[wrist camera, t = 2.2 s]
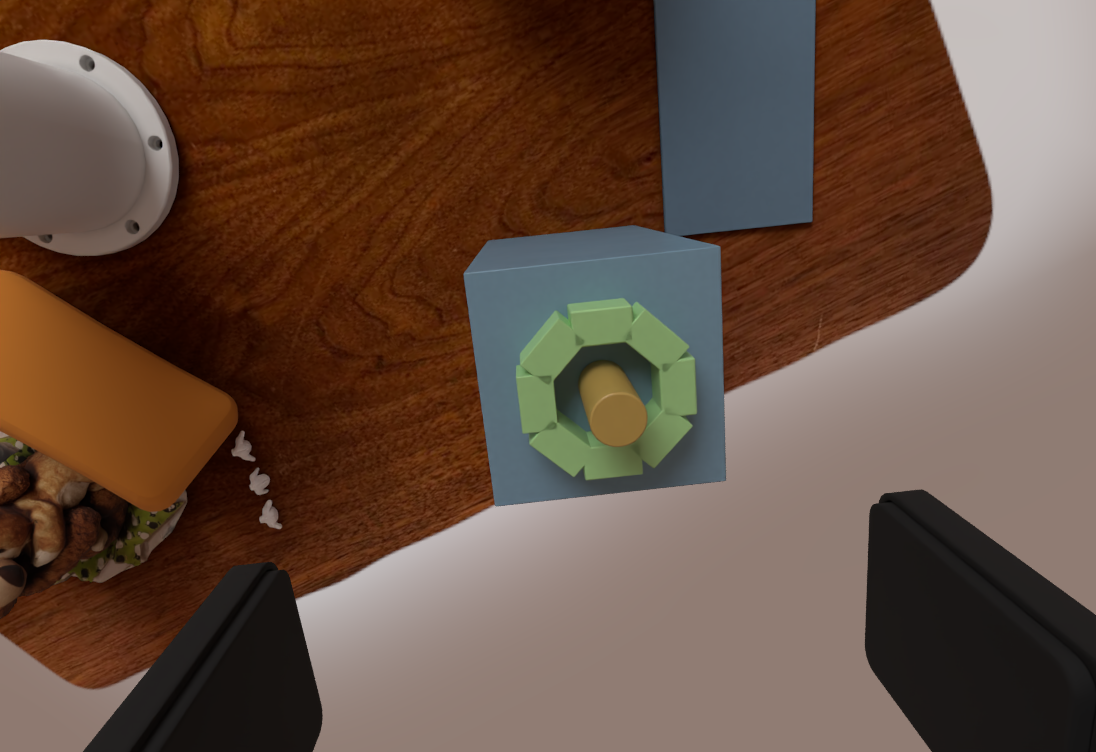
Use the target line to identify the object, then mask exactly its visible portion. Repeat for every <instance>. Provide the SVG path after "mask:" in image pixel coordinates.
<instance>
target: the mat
mask: <svg viewBox="0 0 1096 752" xmlns="http://www.w3.org/2000/svg"><path fill="white" fill-rule="evenodd" d="M815 1H816V0H654V21H655V41H656V62H657V83H658V104H659V124H660V145H661V166H662V187H663V207H664V228H665V233H668V234H672V235H676V236H684V235H694V234H703V233H713V232H722V231H732V230H741V229H751V228H760V227H769V226H779V225H788V224H798V223H807V222H812V204H813V137H814V69H815Z"/></svg>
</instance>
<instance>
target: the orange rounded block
mask: <svg viewBox="0 0 1096 752" xmlns="http://www.w3.org/2000/svg"><path fill="white" fill-rule="evenodd" d="M237 422H238V409H237V405H236V403H235V401H234V399H233V398H232V397H231V396H229V395H228V394H227V393H225V392H223V391H222V390H220V389H218V388H216V387H214V386H212V385H210V384H208V383H207V382H205V381H203V380H201V379H199V378H197V377H195V376H193V375H192V374H190V373H188V372H186V371H184V370H182V369H180V368H178V367H177V366H175V365H173V364H171V363H169V362H168V361H166V360H164V359H162V358H161V357H159V356H157V355H155V354H154V353H152V352H150V351H148V350H147V349H145V348H143V347H141V346H140V345H138V344H136V343H134V342H133V341H131V340H129V339H127V338H126V337H124V336H122V335H120V334H119V333H117V332H115V331H113V330H112V329H110V328H108V327H106V326H105V325H103V324H101V323H100V322H98V321H96V320H95V319H93V318H91V317H90V316H88V315H87V314H85V313H83V312H82V311H80V310H78V309H77V308H75V307H74V306H72V305H70V304H69V303H67V302H65V301H64V300H62V299H61V298H59V297H57V296H56V295H54V294H52V293H51V292H49V291H48V290H46V289H44V288H43V287H41V286H39V285H38V284H36V283H34V282H33V281H31V280H30V279H28V278H26V277H24V276H22V275H19V274H17V273H15V272H11V271H5V270H0V431H1V432H3V433H5V434H7V435H9V436H11V437H13V438H14V439H16V440H18V441H20V442H22V443H24V444H26V445H27V446H29V447H31V448H33V449H35V450H37V451H39V452H41V453H42V454H44V455H46V456H48V457H50V458H52V459H54V460H55V461H57V462H59V463H61V464H63V465H65V466H67V467H69V468H70V469H72V470H74V471H76V472H78V473H80V474H82V475H83V476H85V477H87V478H89V479H90V480H92V481H94V482H96V483H97V484H99V485H101V486H102V487H104V488H106V489H107V490H109V491H111V492H113V493H114V494H116V495H118V496H119V497H121V498H123V499H124V500H126V501H128V502H130V503H131V504H133V505H135V506H136V507H138V508H140V509H142V510H145V511H149V512H156V511H162V510H164V509H166V508H169V507H170V506H171V505H172V504H173V503H174V502H176V500H177V499H178V498H179V497H180V495H181V494H182V493H183V492H184V490H185V489H186V488H187V487H188V485H189V484H190V483H191V482H192V481H193V479H194V478H195V477H196V476H197V474H198V473H199V472H200V471H201V469H202V468H203V467H204V466H205V464H206V463H207V462H208V461H209V459H210V458H211V457H212V456H213V454H214V453H215V452H216V451H217V449H218V448H219V447H220V446H221V444H222V443H223V442H224V441H225V439H226V438H227V437H228V436H229V434H230V433H231V432H232V431H233V429H234V428H235V426H236V424H237Z"/></svg>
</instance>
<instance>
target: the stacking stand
mask: <svg viewBox="0 0 1096 752" xmlns="http://www.w3.org/2000/svg"><path fill="white" fill-rule="evenodd" d="M464 282H465V289H466V296H467V304H468V311H469V318H470V325H471V333H472V340H473V347H474V355H475V362H476V369H477V377H478V384H479V391H480V399H481V406H482V413H483V421H484V428H485V435H486V443H487V450H488V457H489V465H490V472H491V479H492V487H493V494H494V501H495V506H505V505H513V504H523V503H531V502H539V501H549V500H558V499H566V498H576V497H585V496H594V495H603V494H612V493H621V492H630V491H639V490H648V489H656V488H666V487H675V486H684V485H693V484H702V483H711V482H720V481H726V458H725V422H724V421H725V417H724V376H723V336H722V295H721V254H720V246H717V245H713V244H709V243H705V242H700V241H696V240H692V239H688V238H684V237H680V236H676V235H672V234H668V233H663V232H659V231H655V230H651V229H647V228H643V227H639V226H635V225H632V226H623V227H613V228H604V229H594V230H585V231H575V232H566V233H556V234H547V235H537V236H528V237H518V238H509V239H499V240H490V241H487V243H486V244H485V245H484V247H483V248H482V249H481V251H480V252H479V254H478V255H477V256H476V258H475V259H474V260H473V262H472V263H471V264H470V266H469V267H468V268H467V270H466V271H465V273H464ZM619 298H624V299H625V300H626V301H627V302H628V303H629V304H630V305H631V306H633V305H634V303H635V302H638V303H639V304H640V305H642V306H643V307H644V308H645V309H646V310H648V311H649V312H650V313H651V314H652V315H654V316H655V317H656V318H657V319H658V320H660V321H661V322H662V323H663V324H664V325H666V326H667V327H668V328H669V329H670V330H671V331H673V332H674V333H675V334H676V335H677V336H679V337H680V338H681V339H682V340H683V341H684V342H685V343H687V344H688V345H689V348H688V349H687V350H686V351H687V352H688V353H690V354H691V355H692V356H693V357H694V358H695V368H696V395H697V414H695V415H687V416H686V418H687V419H688V420H689V422H690V423H691V424H692V428H691V429H690V430H689V431H688V432H687V433H686V434H685V435H684V437H683V438H682V439H681V440H680V441H679V442H678V443H677V444H676V445H675V446H674V448H673V449H672V450H671V451H670V452H669V453H668V454H667V455H666V456H665V457H664V458H663V460H662V461H661V462H660V463H659V464H658V465H657V466H656V467H655V468H652V467H651V466H650V465H648V464H647V463H646V462H644V461H643V460H642V465H643V474H640V475H631V476H622V477H613V478H604V479H595V480H586V479H585V476H584V471H583V468H582V469H581V470H580V471H579V473H578V474H577V475H576V476H575V477H572V476H571V475H570V474H568V473H567V472H566V471H564V470H563V469H562V468H560V467H559V466H558V465H556V464H555V463H554V462H552V461H551V460H549V459H548V458H547V457H545V456H544V455H543V454H541V453H540V452H539V451H537V450H536V449H535V448H533V447H532V446H531V445H530V444H529V433H527V434H523V433H522V425H521V417H520V408H519V400H518V392H517V383H516V366H517V365H520V353H521V352H522V350H523V349H524V348H525V347H526V345H527V344H528V343H529V342H530V341H531V339H532V338H533V337H534V336H535V335H536V333H537V332H538V331H539V330H540V328H541V327H542V326H543V325H544V324H545V322H546V321H547V320H548V319H549V318H550V316H551V315H552V314H553V313H554V311H558V312H559V313H561V314H562V315H563V316H564V317H566V318H567V319H568V313H567V305H568V304H572V303H582V302H591V301H600V300H610V299H619ZM554 389H555V399H556V409H557V410H559V411H560V412H561V413H563V414H564V415H565V416H566V417H568V418H569V419H570V420H572V421H573V422H574V423H576V424H577V425H578V426H580V427H581V428H582V429H583V430H585V431H586V432H589V431H592V433H593V435H594V436H595V437H596V439H598V440H599V441H600V442H601V443H603V444H605V445H608V446H612V447H623V446H627V445H629V444H632V443H633V442H635V441H636V440H638V439H639V438H640V437H641V435H642V434H643V432H644V431H645V429H646V426H647V421H648V415H647V410H646V408H645V405H646V404H647V403H648V402H649V401H650V400H651V398H652V380H651V363H650V362H649V361H648V360H647V359H645V358H644V357H643V356H642V355H641V354H639V353H638V352H637V351H636V350H634V349H633V348H632V347H631V346H630V345H628V344H627V343H617V344H607V345H598V346H589V347H582V348H581V349H580V350H579V352H578V353H577V354H576V355H575V356H574V357H573V359H572V360H571V361H570V362H569V363H568V365H567V366H566V367H565V368H564V369H563V371H562V372H561V373H560V374H559V375H558V376H557V378H556V379H555V380H554Z"/></svg>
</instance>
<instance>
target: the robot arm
mask: <svg viewBox="0 0 1096 752" xmlns="http://www.w3.org/2000/svg"><path fill="white" fill-rule="evenodd" d="M94 63H95V68H94V67H93V65H94ZM160 141H162V143H163V147H162V148H161V147H160ZM178 180H179V158H178V153H177V148H176V143H175V138H174V136H173V133H172V131H171V128H170V125H169V123H168V120H167V118H166V116H165V115H164V113H163V111H162V110H161V108H160V106H159V104H158V103H157V101H156V99H155V98H154V97H153V96H152V95H151V93H150V92H149V91H148V90H147V89H146V87H145V86H144V85H143V84H142V83H141V82H140V81H139V80H138V79H137V78H136V77H135V76H133V75H132V74H131V73H130V72H129V71H128V70H126V69H125V68H124V67H123V66H121V65H119V64H118V63H116V62H114V61H113V60H111V59H110V58H108V57H106V56H105V55H102V54H100V53H97V52H95V51H92V50H90V49H87V48H85V47H81V46H78V45H74V44H71V43H68V42H62V41H53V40H35V41H25V42H21V43H18V44H15V45H12V46H9V47H6V48H4V49H2V50H0V238H9V237H24V238H26V239H28V240H30V241H31V242H33V243H35V244H37V245H39V246H41V247H44V248H47V249H50V250H53V251H55V252H58V253H64V254H70V255H75V256H99V255H105V254H112V253H116V252H119V251H123V250H126V249H129V248H131V247H133V246H135V245H137V244H138V243H140V242H142V241H144V240H145V239H147V238H148V237H149V236H150V235H151V234H152V233H153V232H154V231H155V230H157V229H158V228H159V226H160V225H161V224H162V222H163V221H164V219H165V218H166V216H167V215H168V213H169V211H170V209H171V206H172V204H173V201H174V199H175V196H176V191H177V185H178ZM137 224H138V225H139V229H138V228H137ZM867 572H868V573H867V601H866V628H865V630H866V631H865V651H866V656H867V659H868V662H869V664H870V667H871V669H872V670H873V672H874V673H875V675H876V676H877V678H878V679H879V680H880V682H881V683H882V684H883V685H884V687H885V688H886V690H887V691H888V693H889V694H890V695H891V697H892V698H893V699H894V701H895V702H896V703H897V705H898V706H899V707H900V709H901V710H902V712H903V713H904V714H905V716H906V717H907V718H908V720H909V721H910V722H911V724H912V725H913V727H914V728H915V729H916V731H917V732H918V733H919V735H920V736H921V738H922V739H923V740H924V742H925V743H926V744H927V746H928V747H929V748H930V750H931V751H932V752H1096V615H1095V614H1094V613H1092V612H1091V611H1090V610H1088V609H1087V608H1085V607H1084V606H1083V605H1081V604H1080V603H1079V602H1077V601H1076V600H1075V599H1073V598H1072V597H1070V596H1069V595H1068V594H1066V593H1065V592H1064V591H1062V590H1061V589H1059V588H1058V587H1057V586H1055V585H1054V584H1053V583H1051V582H1050V581H1048V580H1047V579H1046V578H1044V577H1043V576H1042V575H1040V574H1039V573H1038V572H1036V571H1035V570H1033V569H1032V568H1031V567H1029V566H1028V565H1026V564H1025V563H1024V562H1022V561H1021V560H1020V559H1018V558H1017V557H1016V556H1014V555H1013V554H1012V553H1010V552H1009V551H1007V550H1006V549H1004V548H1003V547H1002V546H1001V545H999V544H998V543H996V542H995V541H994V540H992V539H991V538H990V537H988V536H987V535H985V534H984V533H983V532H981V531H980V530H979V529H977V528H976V527H975V526H973V525H972V524H970V523H969V522H968V521H966V520H965V519H963V518H962V517H961V516H959V515H958V514H957V513H955V512H954V511H952V510H951V509H950V508H948V507H947V506H946V505H944V504H943V503H942V502H940V501H939V500H937V499H936V498H935V497H934V496H932V495H931V494H929V493H928V492H926V491H924V490H912V491H904V492H894V493H885V494H884V495H882V496H881V498H880V500H879V503H878V504H874V505H872V507H871V509H870V515H869V543H868V571H867ZM321 726H322V706H321V701H320V698H319V693H318V689H317V685H316V681H315V677H314V673H313V669H312V665H311V661H310V657H309V653H308V649H307V645H306V641H305V637H304V633H303V629H302V625H301V621H300V617H299V613H298V609H297V605H296V601H295V597H294V593H293V589H292V585H291V581H290V577H289V574H288V573H287V571H285V570H278V568H277V567H276V565H275V564H274V563H272V562H265V563H256V564H247V565H238V566H233V567H232V568H231V569H230V570H229V571H228V572H227V574H226V575H225V576H224V577H223V579H222V580H221V581H220V582H219V584H218V585H217V586H216V587H215V588H214V590H213V591H212V592H211V593H210V595H209V596H208V597H207V598H206V600H205V601H204V602H203V603H202V605H201V606H200V607H199V608H198V610H197V611H196V612H195V613H194V615H193V616H192V617H191V618H190V619H189V621H188V622H187V623H186V624H185V626H184V627H183V628H182V629H181V631H180V632H179V633H178V634H177V636H176V637H175V638H174V639H173V641H172V642H171V643H170V644H169V646H168V647H167V648H166V649H165V650H164V652H163V653H162V654H161V655H160V657H159V658H158V659H157V660H156V662H155V663H154V664H153V665H152V667H151V668H150V669H149V670H148V672H147V673H146V674H145V675H144V677H143V678H142V679H141V680H140V681H139V683H138V684H137V685H136V687H135V688H134V689H133V690H132V692H131V693H130V694H129V695H128V696H127V698H126V699H125V700H124V701H123V703H122V704H121V705H120V707H119V708H118V709H117V710H116V711H115V713H114V714H113V715H112V716H111V717H110V719H109V720H108V721H107V722H106V724H105V725H104V726H103V727H102V729H101V730H100V731H99V732H98V734H97V735H96V736H95V737H94V739H93V740H92V741H91V742H90V744H89V745H88V746H87V747H86V748H85V750H84V751H83V752H313V750H314V747H315V744H316V741H317V739H318V737H319V733H320V731H321Z"/></svg>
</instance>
